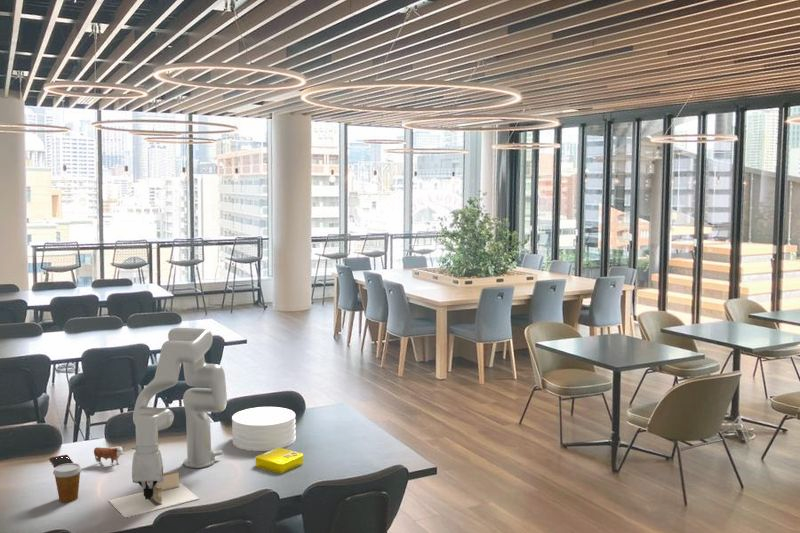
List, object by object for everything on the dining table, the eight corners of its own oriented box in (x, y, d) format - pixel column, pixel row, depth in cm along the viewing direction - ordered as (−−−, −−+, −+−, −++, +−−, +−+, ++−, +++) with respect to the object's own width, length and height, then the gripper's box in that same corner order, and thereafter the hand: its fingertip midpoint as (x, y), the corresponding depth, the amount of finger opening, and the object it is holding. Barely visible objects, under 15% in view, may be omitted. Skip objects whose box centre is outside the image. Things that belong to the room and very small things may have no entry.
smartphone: (67, 454, 334) (75, 464, 322) (67, 456, 334) (75, 466, 322) (49, 457, 330) (56, 468, 318) (49, 459, 331) (56, 470, 318)
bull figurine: (122, 468, 320) (121, 448, 319) (92, 465, 323) (91, 446, 322) (128, 464, 324) (127, 445, 323) (98, 461, 327) (97, 442, 326)
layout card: (180, 484, 303) (179, 466, 302) (199, 499, 289) (198, 481, 288) (108, 501, 287) (107, 483, 286) (124, 518, 273) (124, 499, 272)
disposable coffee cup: (59, 494, 293) (58, 463, 292) (86, 493, 294) (84, 462, 293) (50, 504, 284) (49, 472, 283) (77, 503, 285) (76, 471, 283)
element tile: (278, 456, 335) (278, 445, 334) (305, 463, 326) (305, 452, 326) (253, 467, 322) (253, 456, 322) (280, 475, 314) (280, 463, 313)
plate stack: (264, 426, 374) (264, 403, 373) (308, 438, 358) (308, 413, 356) (219, 442, 351) (218, 417, 350) (264, 455, 335) (263, 429, 334)
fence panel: (146, 493, 291) (145, 479, 291) (149, 493, 292) (148, 478, 291) (158, 503, 283) (157, 488, 282) (161, 502, 284) (161, 487, 283)
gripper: (122, 452, 277) (124, 502, 279) (166, 451, 278) (167, 501, 280) (128, 445, 285) (130, 494, 286) (170, 444, 285) (172, 493, 287)
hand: (148, 497), depth 283 cm, fingers closed
